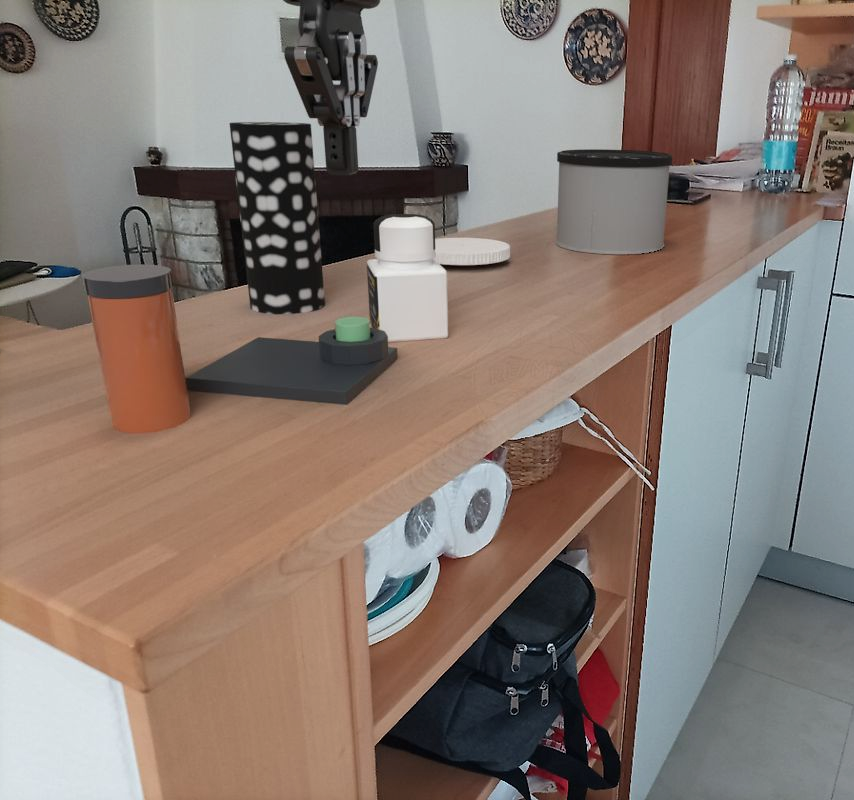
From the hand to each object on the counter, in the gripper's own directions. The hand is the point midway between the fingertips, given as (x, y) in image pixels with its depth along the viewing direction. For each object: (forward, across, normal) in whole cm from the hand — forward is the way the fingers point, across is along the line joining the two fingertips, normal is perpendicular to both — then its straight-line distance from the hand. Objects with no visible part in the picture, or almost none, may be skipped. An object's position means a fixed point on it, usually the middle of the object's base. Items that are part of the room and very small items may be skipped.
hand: (342, 174), depth 65 cm
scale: (+17, +3, -4) cm, 18 cm away
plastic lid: (+17, -49, -3) cm, 52 cm away
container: (+17, -71, +17) cm, 75 cm away
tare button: (+14, 0, 0) cm, 14 cm away
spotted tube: (+17, -19, -16) cm, 30 cm away
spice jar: (+17, +15, -10) cm, 25 cm away
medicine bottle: (+17, -12, +1) cm, 21 cm away
